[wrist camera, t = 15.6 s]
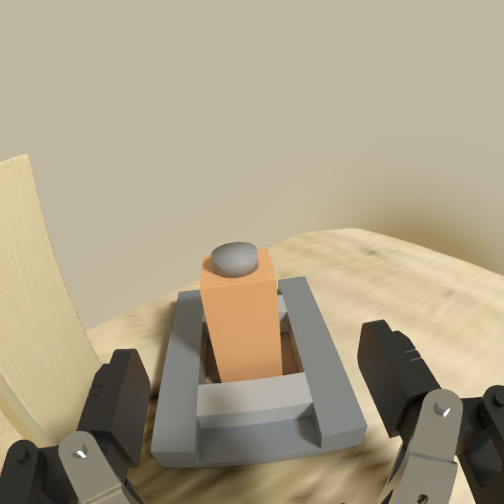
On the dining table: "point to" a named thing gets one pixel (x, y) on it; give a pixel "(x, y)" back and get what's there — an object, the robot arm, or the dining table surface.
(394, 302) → the dining table surface
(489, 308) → the dining table surface
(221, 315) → the orange block with knob
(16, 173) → the pale yellow tall block
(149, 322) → the dining table surface
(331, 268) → the dining table surface
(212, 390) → the frame
